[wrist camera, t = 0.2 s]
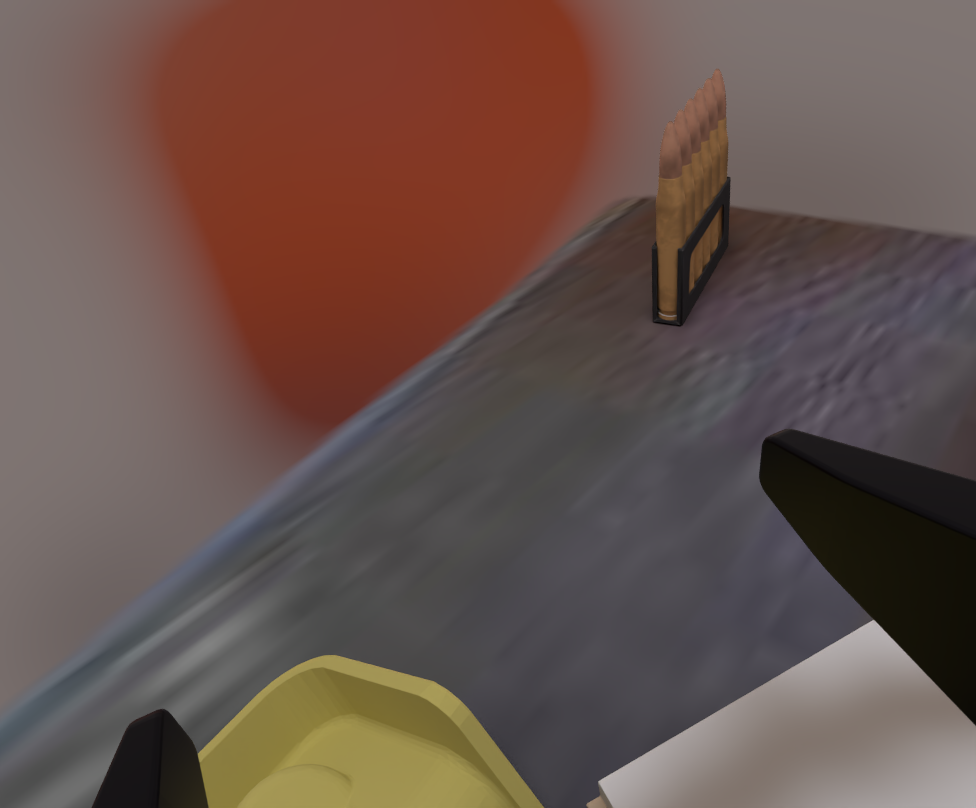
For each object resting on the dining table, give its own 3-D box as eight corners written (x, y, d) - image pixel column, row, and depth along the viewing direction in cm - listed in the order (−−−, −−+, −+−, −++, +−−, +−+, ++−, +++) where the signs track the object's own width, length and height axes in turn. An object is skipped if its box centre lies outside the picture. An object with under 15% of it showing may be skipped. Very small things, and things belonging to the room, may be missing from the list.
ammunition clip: (681, 327, 43) (682, 128, 35) (651, 323, 44) (646, 127, 36) (728, 245, 50) (737, 63, 42) (701, 242, 51) (706, 64, 43)
